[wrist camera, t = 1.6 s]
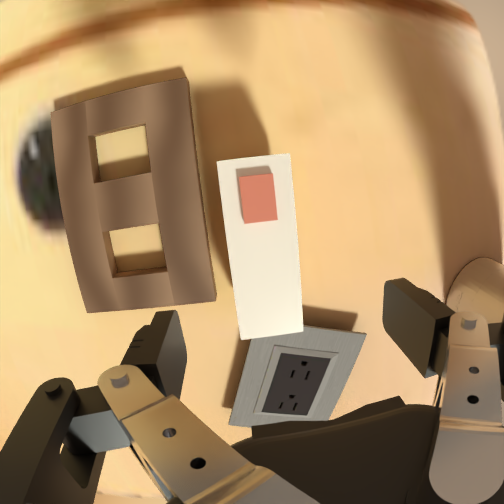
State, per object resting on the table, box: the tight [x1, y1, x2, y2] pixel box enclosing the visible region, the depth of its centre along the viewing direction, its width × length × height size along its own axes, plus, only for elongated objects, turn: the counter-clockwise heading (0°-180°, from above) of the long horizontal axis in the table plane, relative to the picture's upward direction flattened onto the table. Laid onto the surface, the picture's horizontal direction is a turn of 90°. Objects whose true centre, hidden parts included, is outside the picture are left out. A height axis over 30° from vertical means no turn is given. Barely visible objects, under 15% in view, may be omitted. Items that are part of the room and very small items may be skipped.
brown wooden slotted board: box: [51, 78, 217, 313], centre depth 24 cm, size 12×18×2 cm, turn 6°
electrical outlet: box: [228, 325, 367, 427], centre depth 30 cm, size 13×10×2 cm
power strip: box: [217, 153, 303, 340], centre depth 23 cm, size 4×12×7 cm, turn 6°
